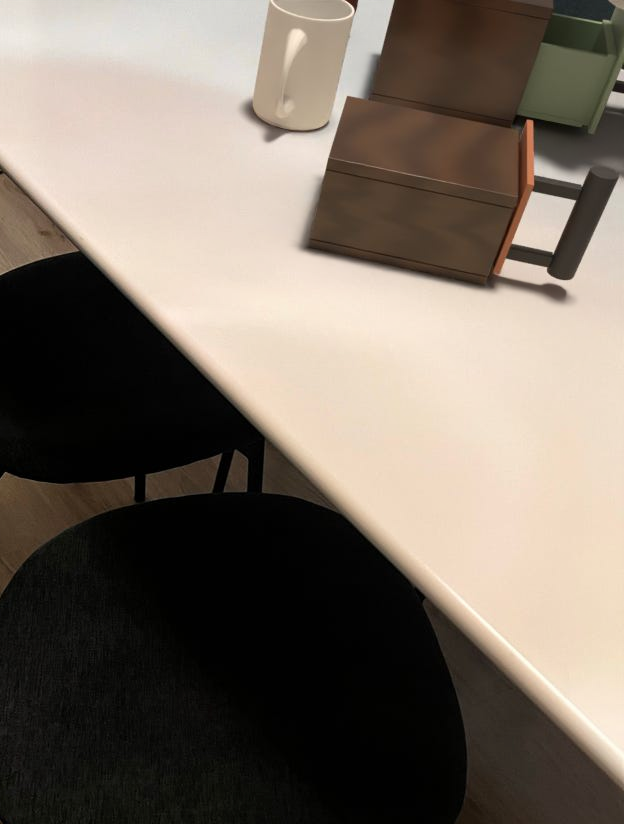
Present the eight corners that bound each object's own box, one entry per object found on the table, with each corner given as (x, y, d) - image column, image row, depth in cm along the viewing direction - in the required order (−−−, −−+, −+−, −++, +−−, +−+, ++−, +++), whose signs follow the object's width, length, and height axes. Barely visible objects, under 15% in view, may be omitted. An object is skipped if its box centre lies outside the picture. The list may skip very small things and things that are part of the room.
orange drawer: (568, 220, 98) (611, 118, 91) (572, 290, 89) (620, 184, 82) (343, 173, 100) (368, 70, 92) (326, 237, 91) (352, 129, 84)
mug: (231, 131, 106) (249, 17, 98) (264, 91, 113) (283, -18, 105) (310, 152, 104) (335, 38, 96) (338, 110, 112) (363, 1, 104)
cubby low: (488, 214, 99) (519, 130, 93) (484, 285, 90) (518, 197, 84) (327, 180, 101) (347, 95, 95) (307, 247, 92) (328, 157, 86)
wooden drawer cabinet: (511, 83, 122) (551, -31, 113) (510, 129, 113) (553, 8, 104) (380, 57, 124) (409, -58, 115) (369, 100, 115) (399, -21, 106)
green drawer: (642, 99, 120) (691, -10, 112) (652, 146, 111) (706, 31, 103) (458, 63, 122) (492, -48, 113) (453, 106, 113) (489, -10, 105)
